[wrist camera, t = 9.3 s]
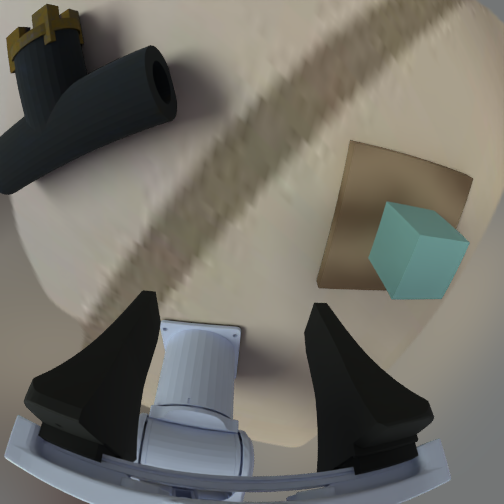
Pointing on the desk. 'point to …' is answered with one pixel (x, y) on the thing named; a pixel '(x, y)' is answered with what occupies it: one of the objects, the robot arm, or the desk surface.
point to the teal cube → (416, 252)
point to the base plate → (382, 208)
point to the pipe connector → (75, 98)
